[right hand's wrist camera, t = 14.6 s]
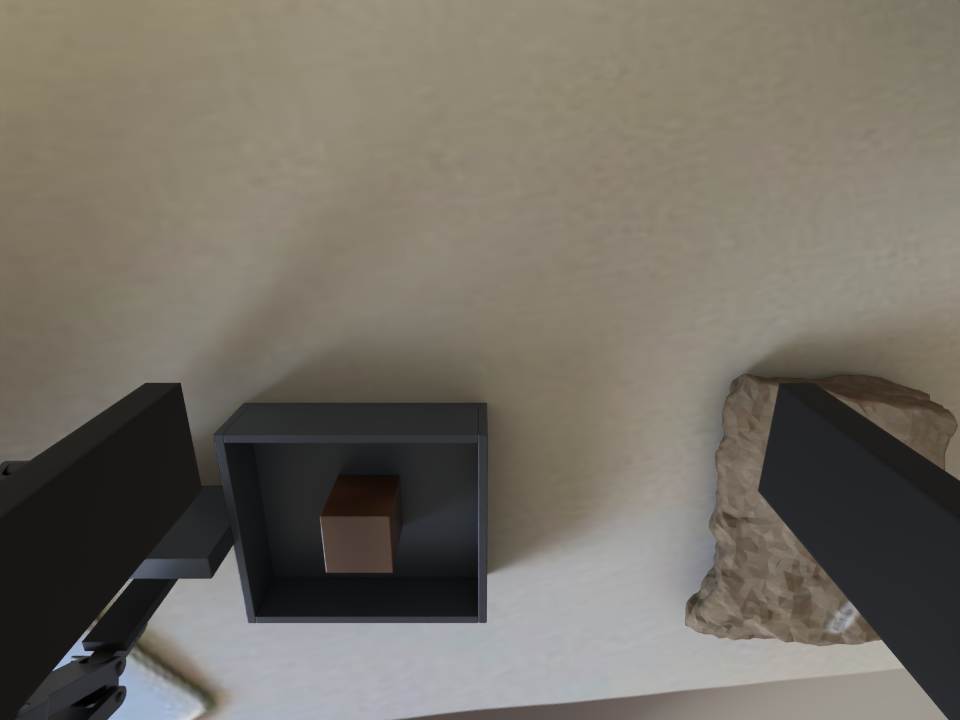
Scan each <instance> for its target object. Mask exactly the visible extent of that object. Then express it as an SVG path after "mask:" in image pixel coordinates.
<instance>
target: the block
mask: <svg viewBox="0 0 960 720" xmlns="http://www.w3.org/2000/svg"><path fill="white" fill-rule="evenodd" d="M320 523H321V532H322V540H323V549H324V557H325V566H326V572H327V573H393V570H394V565H395V561H396V556H397V551H398V546H399V542H400V537H401V532H402V527H403V523H402V505H401V487H400V475H338V477H337V479H336V481H335V484H334V486H333V488H332V490H331V493H330V495H329V497H328V499H327V502H326V504H325V506H324V508H323V511H322V513H321V515H320Z"/></svg>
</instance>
